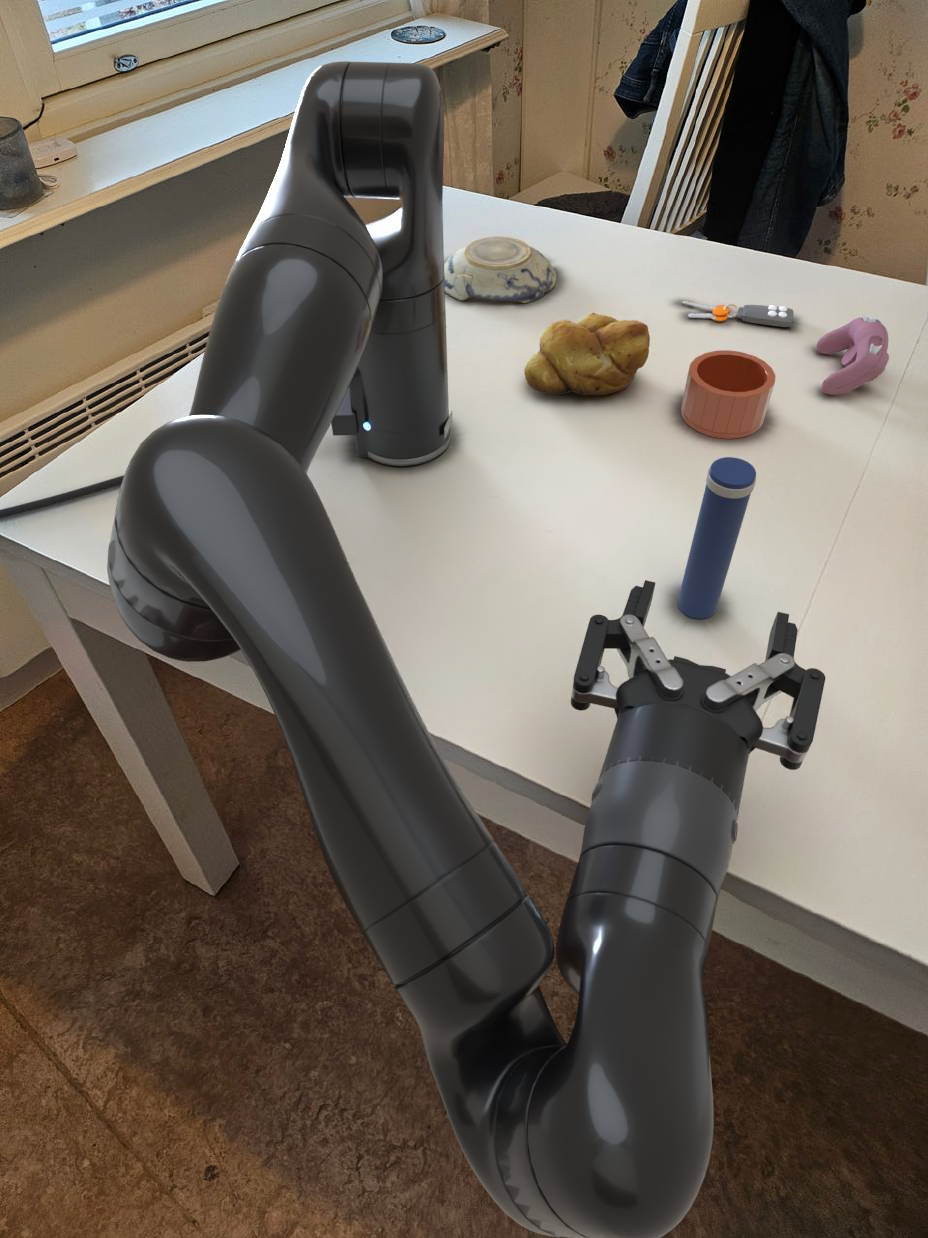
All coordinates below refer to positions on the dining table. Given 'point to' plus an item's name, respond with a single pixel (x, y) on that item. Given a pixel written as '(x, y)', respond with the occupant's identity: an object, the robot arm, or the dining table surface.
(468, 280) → the decorative bowl
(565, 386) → the bread roll
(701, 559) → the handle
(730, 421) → the holder
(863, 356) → the video game controller
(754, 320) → the key chain
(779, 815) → the dining table surface
